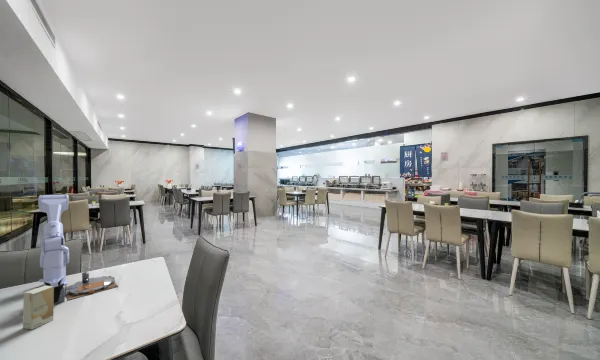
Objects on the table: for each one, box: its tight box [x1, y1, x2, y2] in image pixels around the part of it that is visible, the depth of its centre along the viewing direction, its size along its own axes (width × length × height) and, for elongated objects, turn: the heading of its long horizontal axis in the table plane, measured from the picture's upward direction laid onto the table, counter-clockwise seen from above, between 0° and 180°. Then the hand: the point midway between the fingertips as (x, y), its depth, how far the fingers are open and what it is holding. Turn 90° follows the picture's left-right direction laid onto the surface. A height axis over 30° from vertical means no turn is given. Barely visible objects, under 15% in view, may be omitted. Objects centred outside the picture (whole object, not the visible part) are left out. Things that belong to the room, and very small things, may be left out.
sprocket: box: [65, 271, 116, 295], centre depth 112 cm, size 18×18×6 cm
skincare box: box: [22, 286, 54, 330], centre depth 84 cm, size 6×4×12 cm
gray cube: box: [54, 286, 66, 305], centre depth 98 cm, size 4×6×5 cm, turn 137°
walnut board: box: [64, 275, 119, 301], centre depth 112 cm, size 18×17×1 cm
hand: (54, 299), depth 98 cm, fingers open, 7 cm apart
